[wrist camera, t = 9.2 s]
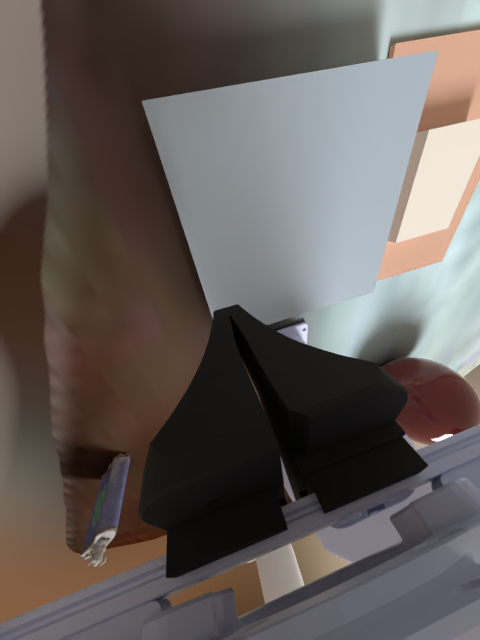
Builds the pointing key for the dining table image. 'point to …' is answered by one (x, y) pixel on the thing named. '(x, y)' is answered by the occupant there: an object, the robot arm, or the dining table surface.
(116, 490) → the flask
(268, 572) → the white tall block
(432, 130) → the tile
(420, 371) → the round-bottom flask
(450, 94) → the mat
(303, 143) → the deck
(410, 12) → the dining table surface
